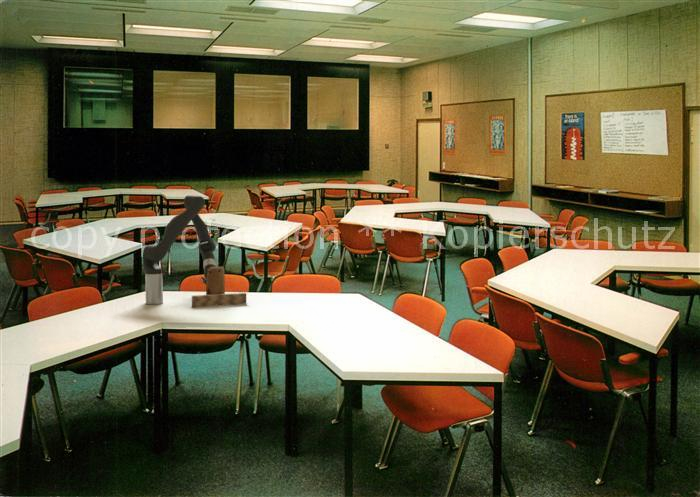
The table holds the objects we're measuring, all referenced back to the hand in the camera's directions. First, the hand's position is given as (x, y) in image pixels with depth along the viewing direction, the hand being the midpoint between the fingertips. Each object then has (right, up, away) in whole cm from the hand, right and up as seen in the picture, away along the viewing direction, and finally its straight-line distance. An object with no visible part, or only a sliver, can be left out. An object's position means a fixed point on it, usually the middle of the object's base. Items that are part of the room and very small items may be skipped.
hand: (213, 290), depth 352 cm
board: (+8, -7, -20) cm, 23 cm away
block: (+3, -6, -7) cm, 10 cm away
